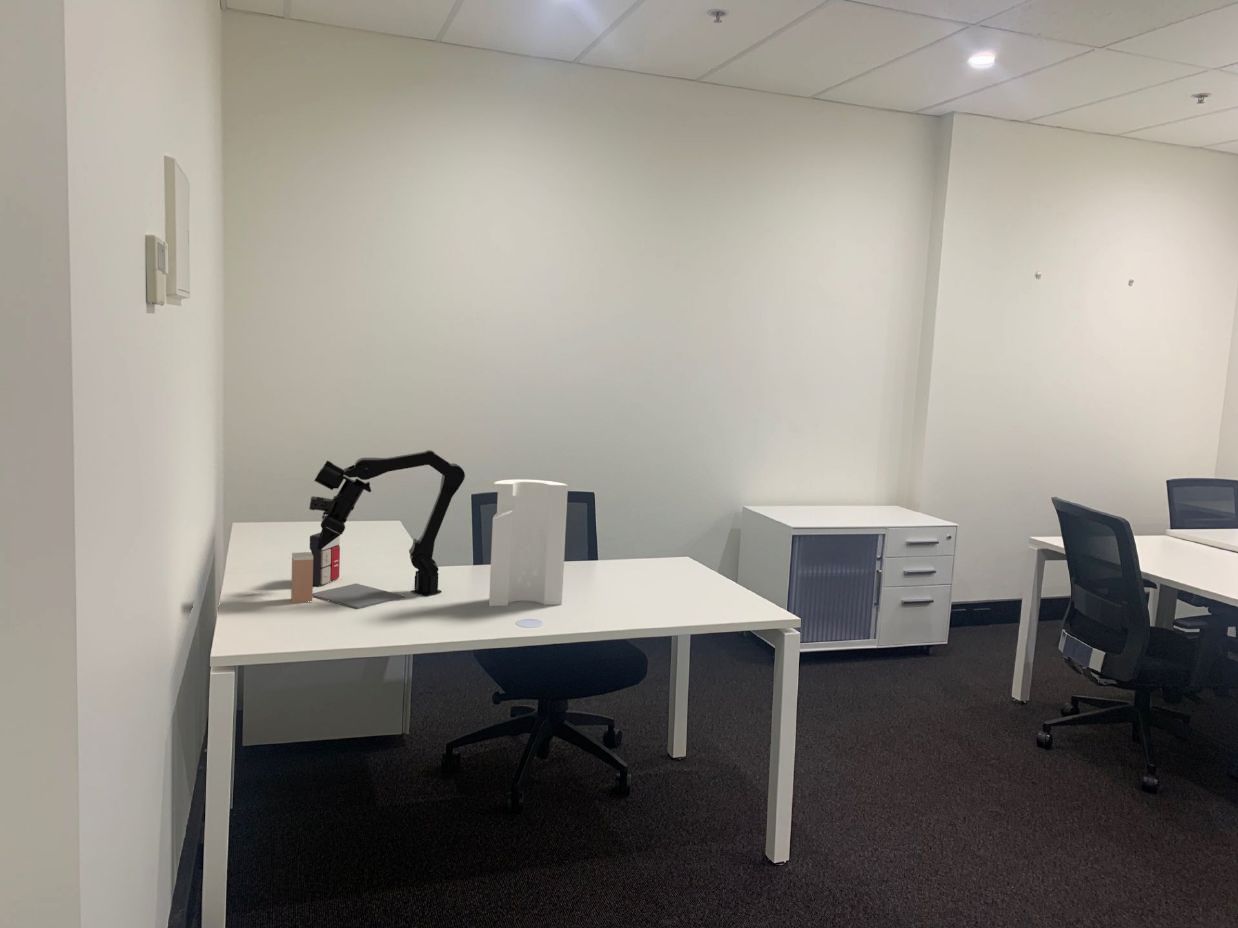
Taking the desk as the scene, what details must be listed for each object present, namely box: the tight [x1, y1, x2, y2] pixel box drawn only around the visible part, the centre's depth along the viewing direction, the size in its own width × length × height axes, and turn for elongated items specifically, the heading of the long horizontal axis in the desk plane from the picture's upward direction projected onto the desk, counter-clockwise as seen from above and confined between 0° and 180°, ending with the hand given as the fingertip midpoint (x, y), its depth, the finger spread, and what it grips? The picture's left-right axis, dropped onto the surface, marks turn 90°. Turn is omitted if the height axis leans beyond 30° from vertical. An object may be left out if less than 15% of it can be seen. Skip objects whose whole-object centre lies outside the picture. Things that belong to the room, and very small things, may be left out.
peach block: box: [290, 551, 314, 604], centre depth 244 cm, size 5×5×13 cm
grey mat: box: [312, 583, 405, 610], centre depth 252 cm, size 20×17×1 cm
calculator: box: [309, 531, 341, 587], centre depth 265 cm, size 11×4×15 cm, turn 168°
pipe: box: [488, 478, 569, 607], centre depth 256 cm, size 35×11×21 cm
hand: (318, 545), depth 250 cm, fingers open, 9 cm apart
